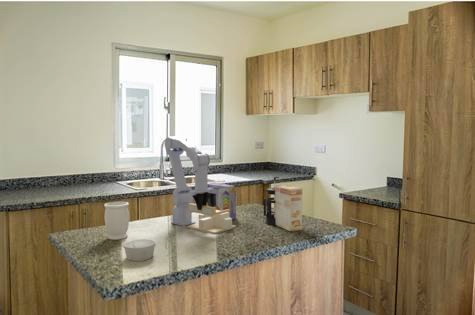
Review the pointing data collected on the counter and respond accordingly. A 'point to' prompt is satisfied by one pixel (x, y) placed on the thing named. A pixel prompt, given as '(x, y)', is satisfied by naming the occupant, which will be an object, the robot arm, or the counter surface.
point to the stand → (213, 223)
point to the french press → (269, 216)
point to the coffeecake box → (288, 207)
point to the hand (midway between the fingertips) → (201, 209)
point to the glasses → (205, 210)
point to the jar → (116, 219)
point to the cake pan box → (223, 198)
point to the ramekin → (139, 249)
